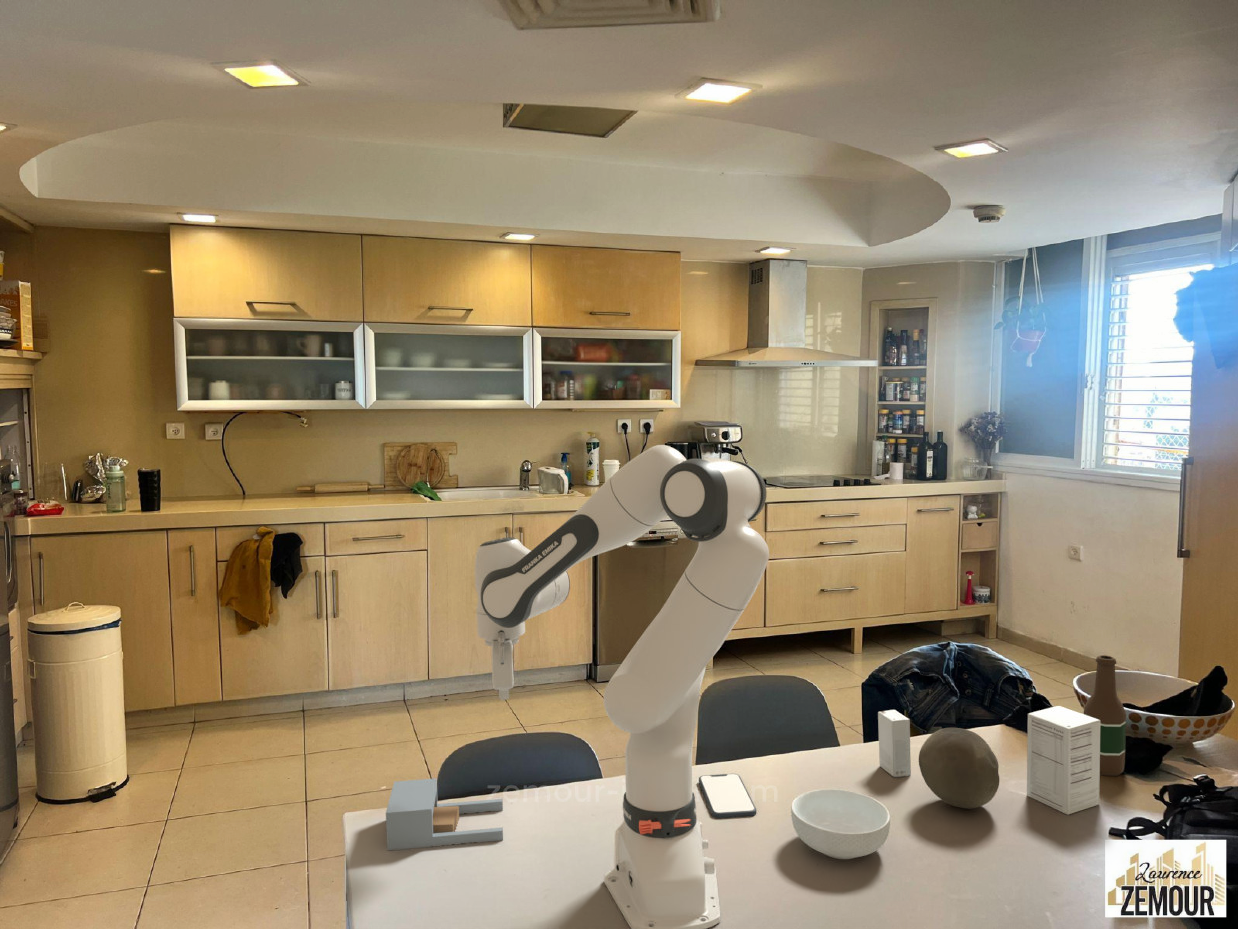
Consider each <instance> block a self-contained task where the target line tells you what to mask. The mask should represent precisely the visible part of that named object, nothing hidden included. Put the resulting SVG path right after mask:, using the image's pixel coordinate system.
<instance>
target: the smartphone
mask: <svg viewBox="0 0 1238 929" xmlns="http://www.w3.org/2000/svg"><path fill="white" fill-rule="evenodd" d="M698 784H699V786H700V790H701V792H702V794H703V797H704V799H705V802H706V804H707V806H708V809H709V812H710V814H711V816H712V818H713V819H730V818H731V819H732V818H745V817H747V818H748V817H754V816H756V815H757V808H756V806H755V804H754V802H753V799H752V798H751V795H750V793H749V791H748V789H747V788H746V786H745V784H744V782H743V780H742V777H741V776H740V775H739V774H738V773H722V774H721V773H719V774H709V775H708V774H705V775H701V776H699V777H698Z"/></svg>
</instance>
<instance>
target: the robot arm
mask: <svg viewBox="0 0 1238 929" xmlns="http://www.w3.org/2000/svg"><path fill="white" fill-rule="evenodd" d="M767 493H768V492H767V487H766V483H765V481H764V478H763V477H762V475H761V474H760V473H759V472H758V470H756V469H755V468H754V467H752V466H751V465H748V464H747V463H744V462H743V461H742V462H741V461H739V460H738V461H736V460H727V459H724V458H718V457H708V458H690V459H687V458H686V457H685V456H684V455H683V454H682V453H681V452H680V451H679V450H678V449H676V448H674V447H671V445H665V444H657V445H654V446H651V447H650V448H648V449H646V450H645V451H643V452H641V453H639V454H638V455H637V456H635V457H634V458H632V459H630V460H629V461H628V462H627V463H625V464H623V466H621V467H619V469H618V470H616V472H615V473H613V474H612V475H611V476H610V477H609V478H608V479H607V480H606V481H605V482H604V483H603V484H602V485H601V486H600V487H599V488H598V489H597V490H596V491H595V492H594V493H593V494H592V495H591V496H590V497H589V498H588V499H587V500H586V501H585V503H583V504H582V505H581V506H580V507H579V508H578V509H577V510H576V511H575V512H574V513H573V514H572V515H571V516H570V517H569V518H567V520H566V521H565V522H564V523H563V524H562V525H561V526H559V527H558V528H557V529H556V530H555V531H553V532H552V533H551V534H550V535H548V536H547V537H546V538H544V540H543V541H541V542H539V544H538V545H537V546H535V547H534V548H533V549H532V550H531V549H529V548H528V547H526V546H524V545H523V543H521V541H520V540H519V539H518V538H516V537H512V536H511V537H510V536H509V537H501V538H498V539H492V540H488V541H485V542H483V543H481V544H480V545H479V546H478V548H477V550H476V554H475V559H474V560H475V562H474V563H475V564H474V585H475V591H476V593H477V604H476V610H475V611H476V628H477V629H476V630H477V631H476V632H477V636H478V637H479V638H481V639H484V644H485V645H486V646H487V647H491V676H492V680H491V681H492V687H493V689H494V690H496V691H498V697H499V700H501V701H506V700H509V699H510V690H511V689H513V688H514V684H515V683H514V680H515V679H514V663H513V660H514V658H513V651H514V645H517V644H518V643H519V641H520V637H521V636H523V635H524V634H525V633H526V621H527V620H529V619H533V618H534V617H536V616H539V615H541V614H544V613H545V612H548V611H551V610H552V609H554V608H557V607H558V606H560V605H561V604H564V602H565V601H566V600H567V599H568V596H569V594H570V590H571V589H570V588H571V581H570V576H569V574H568V570H571V568H573V566H576V565H578V564H579V563H581V562H583V561H585V560H587V559H589V558H592V557H594V556H598V555H601V554H603V553H606V552H609V551H612V550H615V549H618V548H621V547H623V546H626V545H628V544H631V543H632V542H634V541H635V540H637V539H639V538H641V537H643V535H645V534H647V533H648V532H649V531H650V530H652V529H653V528H654V527H656V526H657V525H658V524H660V522H661V521H663V519H665V517H667V516H668V517H669V519H670V520H672V522H674V523H675V525H677V526H678V527H679V528H680V529H681V531H682V533H683V535H685V537H686V538H687V539H688V540H690V541H693V542H698V544H697V546H698V547H697V549H696V552H695V553H694V556H692V558H691V560H690V562H689V563H688V566H686V568H685V570H684V572H683V574H682V575H681V577H680V578H679V579H678V582H677V583H676V584H675V586H674V588H673V590H672V591H671V593H670V595H669V597H668V598H667V600H666V602H665V603H664V604H663V606H662V607H661V609H660V611H659V612H658V613H657V615H656V616H655V617H654V618H653V620H652V621H651V622H650V624H649V625H648V626H647V628H646V629H645V630H644V631H643V633H641V634H642V635H641V636H640V637H639V639H638V640H637V641H636V642H635V644H634V645H633V647H632V648H631V649H630V651H629V653H627V655H626V657H625V658H624V660H623V661H622V662H621V664H620V666H619V667H618V668H617V670H616V671H615V672H614V673H613V675H612V676H611V678H610V679H609V681H608V683H607V685H606V686H605V689H604V693H603V706H604V711H605V712H606V715H607V717H608V718H609V720H610V721H611V722H612V723H613V725H614V726H616V728H618V729H619V730H622V731H623V732H626V733H628V734H629V737H628V740H627V742H626V746H625V751H624V752H625V753H624V760H625V761H624V765H625V766H624V767H625V768H624V769H625V770H624V771H625V792H624V793H623V801H622V812H623V821H622V823H621V824H620V826H618V827H617V829H616V830H615V831H614V860H613V861H614V862H613V863H614V866H613V869H611V870H609V871H608V872H606V874H604V879H603V880H604V881H603V882H604V885H605V886H606V887H607V890H608V892H609V893H610V895H611V897H612V898H613V900H614V902H615V904H616V905H617V907H618V909H619V910H620V912H621V915H623V917H624V920H626V922H627V924H628V925H629V927H630V929H708V928H711V927H714V926H715V925H718V924H719V923H720V922H721V919H722V918H721V908H720V900H719V897H720V896H719V891H718V890H719V889H718V879H717V870H716V865H715V859H714V858H710V857H708V856H704V851H703V849H704V850H707V849H709V839H706V838H705V839H703V823H702V822H701V821H699V820H698V819H697V803H696V796H695V793H694V791H693V750H694V748H693V747H694V740H695V739H694V738H695V731H696V727H697V726H696V725H697V719H698V712H699V704H700V697H701V696H700V695H701V688H702V685H703V680H704V677H705V674H706V668H707V665H708V664H709V663H710V661H711V660H712V659H713V657H714V656H715V655H716V654H717V652H718V651H719V650H720V648H721V647H722V646H723V644H724V643H725V642H726V641H725V640H726V639H727V638H728V636H729V634H730V633H731V631H732V630H733V628H734V626H735V625H736V623H737V622H738V620H739V619H740V617H741V616H742V614H743V613H744V611H745V610H746V608H747V606H748V604H749V603H750V601H751V600H752V598H753V596H754V595H755V593H756V591H757V589H758V586H759V584H760V583H761V581H762V578H763V575H764V573H765V570H766V568H767V565H768V562H769V560H770V549H769V546H768V544H767V542H766V540H765V539H764V537H763V536H762V535H761V534H760V533H759V532H757V531H756V530H755V529H753V528H752V526H751V525H750V523H749V522H751V521H753V520H754V519H755V518H757V516H759V514H760V513H761V512H762V510H763V508H764V507H765V505H766V501H767V495H768V494H767ZM693 536H694V537H693Z"/></svg>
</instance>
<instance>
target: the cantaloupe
mask: <svg viewBox="0 0 1238 929" xmlns="http://www.w3.org/2000/svg"><path fill="white" fill-rule="evenodd" d="M918 753H919V754H918V766H919V770H920V773H921V776H922V777H923V778H922V779H923V780H924V783H925V785H926V786H927V788H929V789H930V791H931V792H932V793H933V794H934V795H935V796H936V797H938V799H941V801H942V802H944V803H945V804H947V805H949V806H952V807H955V808H960V809H961V808H962V809H968V810H969V809H971V810H972V809H977V808H979V807H983V806H985V805H986V804H988V803H990V802H991V801H992V800H993V798H995V796H996V794H997V792H998V789H999V786H1000V774H999V761H998V758H997V757H996V755H995V752H994V751H993V750H992V749H991V747H990V745H989V744H988V743H987V741H985V739H984V738H983V737H982V736H980V734H977V733H976V732H974V731H972V730H969V729H967V728H961V727H959V728H958V727H945V728H940V729H938V730H936V731H934V732H933V733H931V734H930V736H929V737H928V738H926V740H925V741H924V742H923V744H922V746H921V748H920V750H919V752H918Z"/></svg>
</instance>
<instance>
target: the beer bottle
mask: <svg viewBox="0 0 1238 929" xmlns="http://www.w3.org/2000/svg"><path fill="white" fill-rule="evenodd" d="M1095 663H1096V673H1095V683H1094V688H1093V693H1092V694H1091V695H1090V697H1089V698H1087V700H1086V702H1085V705H1084V706H1083V707H1084V708H1083V714H1084V715H1087V716H1090V717H1092V718H1095V719H1098V720H1100V776H1105V777H1110V776H1111V777H1118V776H1119V775H1122V774H1123V772H1124V771H1125V764H1126V730H1127V717H1126V716H1127V715H1126V714H1127V712H1126V710H1125V707H1124V705H1123V703H1122V701H1121V700H1120V699H1119V696H1118V695H1117V687H1116V684H1117V683H1116V665H1117V660H1116V658H1115V657H1113V656H1111V655H1098V656H1097V657H1096V659H1095Z"/></svg>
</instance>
